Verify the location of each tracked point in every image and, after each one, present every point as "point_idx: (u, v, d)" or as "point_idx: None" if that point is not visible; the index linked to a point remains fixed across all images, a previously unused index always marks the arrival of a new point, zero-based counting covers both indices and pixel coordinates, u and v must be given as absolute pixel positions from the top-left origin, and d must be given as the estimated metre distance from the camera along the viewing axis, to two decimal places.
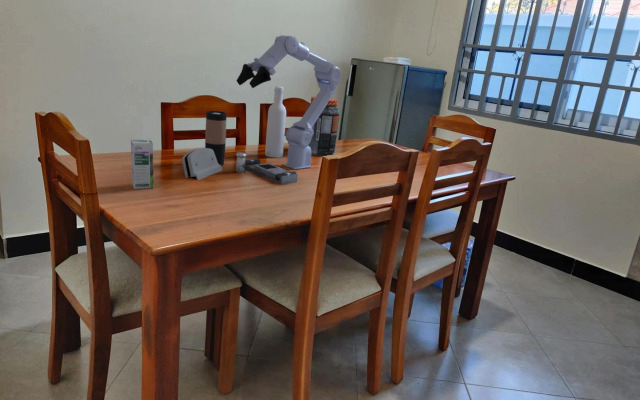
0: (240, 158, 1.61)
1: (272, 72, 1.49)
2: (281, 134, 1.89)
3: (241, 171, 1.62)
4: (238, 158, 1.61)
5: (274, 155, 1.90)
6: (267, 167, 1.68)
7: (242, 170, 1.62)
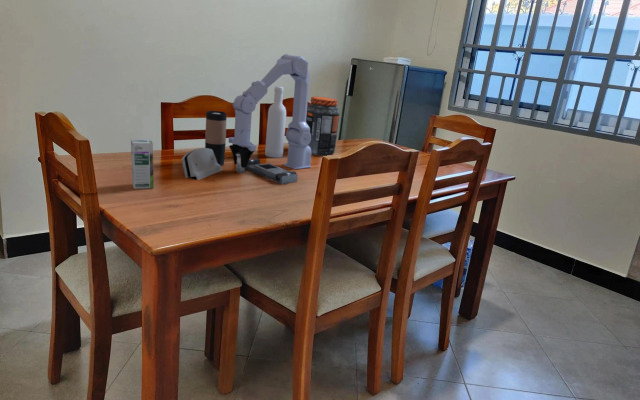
0: (240, 158, 1.61)
1: (253, 149, 1.56)
2: (281, 134, 1.89)
3: (241, 171, 1.62)
4: (238, 158, 1.61)
5: (274, 155, 1.90)
6: (267, 167, 1.68)
7: (242, 170, 1.62)
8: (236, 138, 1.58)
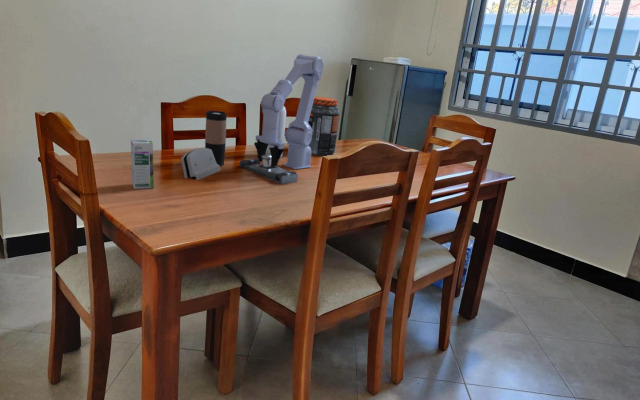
0: (266, 160, 1.62)
1: (282, 147, 1.57)
2: (281, 134, 1.89)
3: None
4: (264, 160, 1.62)
5: None
6: None
7: None
8: (264, 136, 1.59)
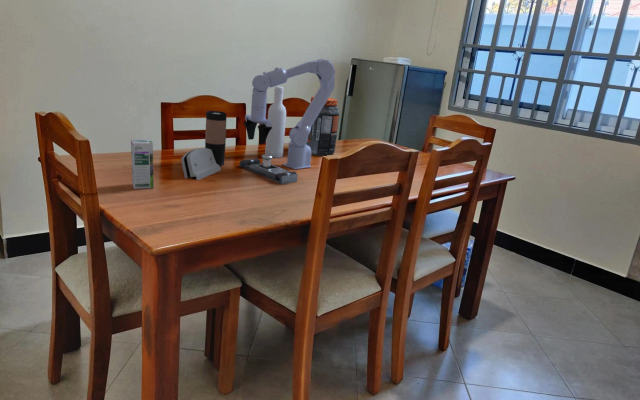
0: (266, 160, 1.62)
1: (269, 125, 1.67)
2: (281, 134, 1.89)
3: None
4: (264, 160, 1.62)
5: (274, 155, 1.90)
6: None
7: None
8: (253, 115, 1.68)
